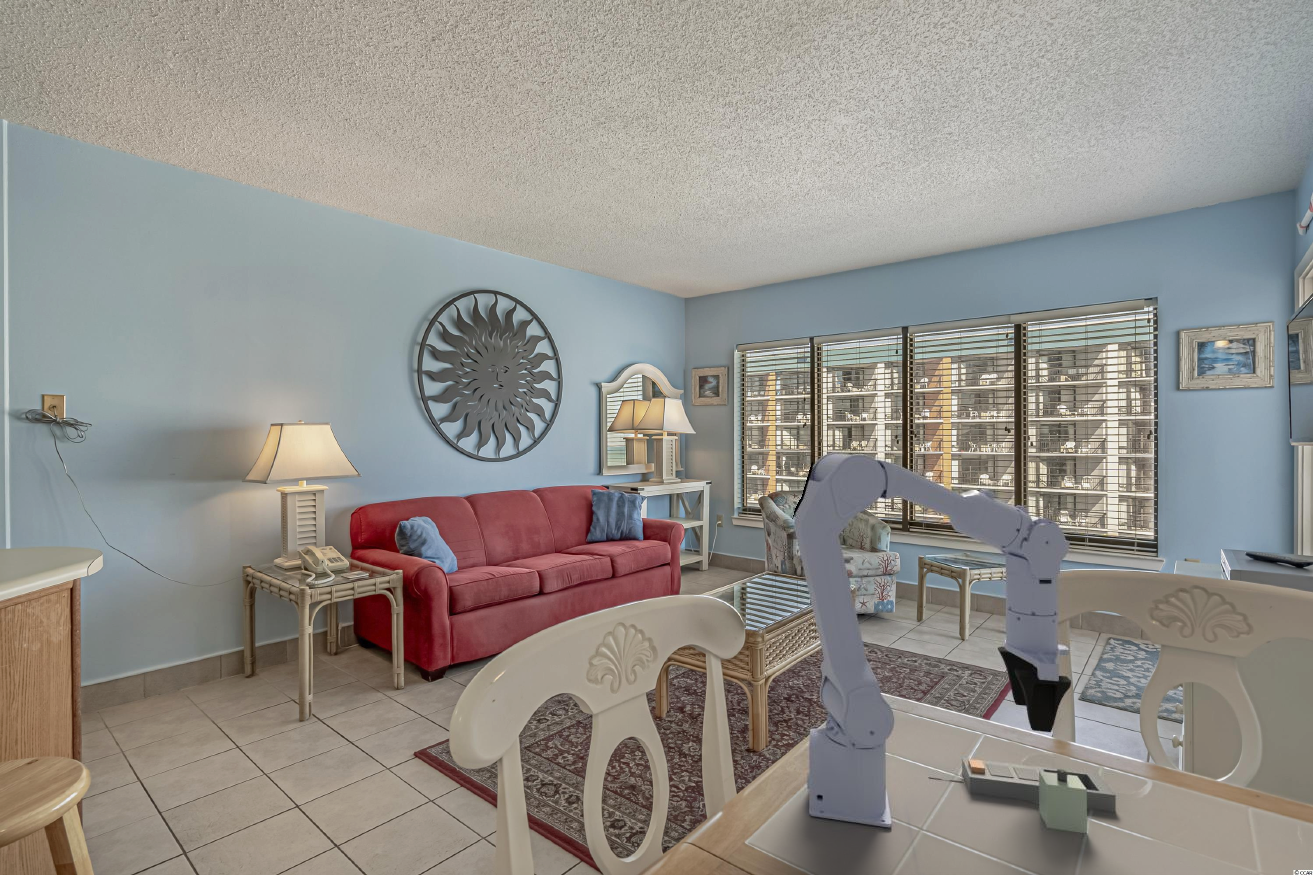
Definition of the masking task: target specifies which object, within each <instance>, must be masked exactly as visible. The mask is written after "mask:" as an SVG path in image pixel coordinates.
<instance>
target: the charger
mask: <svg viewBox="0 0 1313 875" xmlns="http://www.w3.org/2000/svg"><path fill="white" fill-rule="evenodd" d="M1057 769H1058V770H1057V773H1049V772H1041V771H1039V802H1038V803H1039V804H1038V805H1039V809H1038V810H1039V812H1038V813H1039V815H1040V817H1041V819H1042V821H1043V823H1044V824H1045V826H1046V828H1047V829H1054V830H1061V831H1067V832H1074V833H1075V832H1077V833H1082V834H1088V809H1087V789H1086V788H1085V786H1084V785H1083V784H1082V782H1081V781H1080V779H1079V778H1078V776H1073V775H1067V772H1066V771H1065V770H1066V769H1059V768H1057Z"/></svg>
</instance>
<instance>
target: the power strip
mask: <svg viewBox="0 0 1313 875" xmlns="http://www.w3.org/2000/svg"><path fill="white" fill-rule="evenodd" d="M961 767H962V769H961V773H962V776H963V777H962V778H963V779H964V781H965V784H966V786H967V790H968V791H969V792H968V793H969V794H975V795H981V796H989V797H998V798H1003V799H1004V798H1006V799H1012V800H1020V801H1026V802H1027V801H1028V802H1033V803H1034V802H1035V803H1039V771H1041V772H1049V773H1057V770H1058V769H1059V768H1051V767H1043V766H1035V765H1027V764H1026V765H1025V764H1017V763H1009V762H1002V761H1001V762H1000V761H992V760H985V759H978V758H977V759H975V758H967V757H966V758H965V757H961ZM1064 770H1065V771H1066V772H1067V775H1073V776H1078V778H1079V779H1080V781H1081V782H1082V784H1083V785H1084V786H1085V788H1086V789H1087V810H1095V811H1103V812H1112V813H1116V811H1117V809H1116V808H1117V806H1116V805H1117V803H1116V802H1117V801H1116V800H1117V799H1116V797H1117V796H1116V794H1115V793H1114V791H1113V790H1112V789H1111V787H1110V786H1109V785H1108V783H1107V782H1106V781H1105V779H1104V778H1103V777H1102V776H1101V775H1100V773H1093V772H1083V771H1075V770H1068V769H1064ZM928 779H929V780H936V781H945V782H951V783H960V784H964V782H963V781H962V780H954V779H953V780H952V779H946V778H937V777H930V776H929V777H928Z"/></svg>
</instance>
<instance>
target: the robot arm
mask: <svg viewBox="0 0 1313 875" xmlns="http://www.w3.org/2000/svg"><path fill="white" fill-rule="evenodd" d="M995 497H996V493H995V492H992V491H991V490H989V489H983V488H982V489H980V490H979V491H978V490H974V489H970V490H967V491H964V492H962V493H957V492H956V491H954V490H952V489H949V488H947V487H945V486H943V485H941V484H939V483H936V482H935V481H933V480H931V479H928V478H927V477H924V476H923V475H920V474H918V473H916V472H914V471H913V470H910V469H907V468H905V467H903V466H901V465H898V464H895V463H893V462H889V461H886V460H882V459H875V458H874V457H872V456H870V455H866V454H863V453H856V454H845V453H841V452H830V453H826V454H824V455H822V456H821V457H820V458H818V460H816V462H815V463H813V464H812V468H811V471H810V475H809V478H808V481H807V485H806V488H805V491H804V495H803V498H802V500H801V501H800V503H799V505H798V507H797V509H796V512H795V516H794V517H795V518H794V521H793V527H794V532H795V536H796V541H797V546H798V549H799V555H800V560H801V564H802V567H803V572H804V573H803V574H804V577H805V581H806V585H807V590H808V593H809V594H808V595H809V597H810V602H811V607H812V611H813V616H814V621H815V625H816V630H817V634H818V638H819V642H820V647H821V651H822V655H823V660H822V662H821V664H820V669H821V675H822V676H821V684H820V687H819V698H820V701H821V704H822V706H823V707H824V709H826V711H827V713H828V714H827V718H826V721H825V727H820V728H810V729H809V740H808V741H809V742H808V744H809V747H808V749H809V750H808V753H809V754H808V758H809V759H808V760H809V761H808V769H809V770H808V773H807V775H806V776H807V777H806V789H808V791H809V793H808V794H809V796H808V797H809V798H808V800H809V802H808V803H809V808H808V813H809V815H810V816H812V817H817V818H824V819H829V820H830V819H831V820H837V821H842V822H851V823H858V824H863V825H868V826H869V825H871V826H875V827H876V826H878V827H884V828H891V827H892V826H893V821H892V816H891V808H890V803H889V802H890V801H889V797H888V796H889V794H888V791H887V787H886V786H887V784H886V783H887V782H886V781H887V779H886V778H887V773H886V772H887V764H886V761H887V760H886V759H887V758H886V756H887V755H886V747H887V746H886V745H887V744H886V742H887V740H888V739H889V737H890V736H891V735H892V732H893V730H894V727H895V715H894V712H893V711H894V710H892V707H891V705H890V704H889V703H888V702H887V700H885V698H884V696H883V694H882V692H881V690H880V685H879V682H878V679H877V677H876V675H875V674H874V671H873V669H872V668H871V665H870V664H869V662H868V659H867V655H866V651H865V646H864V642H863V637H862V633H861V628H860V624H859V620H858V614H857V610H856V606H855V602H854V597H853V593H852V588H851V584H850V580H849V575H848V571H847V567H846V566H847V565H846V562H845V558H844V553H843V549H842V544H841V540H840V539H841V538H840V535H841V533H842V531H843V530H844V529H845V528H846V527H847V525H849V523H850V522H851V520H852V519H853V518H854V517H856V516H857V515H859V514H860V513H862V512H863V511H864V510H866V509H867V508H869V507H871V506H872V505H873V504H874V503H876V502H877V501H878V500H879V499H884V500H891V499H894V498H901V499H903V500H906V501H908V502H910V503H912V504H915V505H918V506H920V507H923V508H926V509H928V510H931V511H934V512H936V513H938V514H940V515H944V516H945V517H948V519H949V522H950V524H951V527H952V528H953V529H954V531H956V532H957V533H959V534H962V535H965V536H967V537H969V538H972V539H974V540H976V541H979V542H981V543H983V544H986V545H988V546H990V547H993V548H994V549H997V550H999V552H1001V554H1003V555H1005V639H1004V642H1003V643H1004V646H999V647H997V650H998V652H999V654H1000V656H1001V659H1002V661H1003V663H1004V666H1005V669H1006V673H1007V675H1008V679H1009V680H1008V681H1009V683H1010V684H1009V685H1010V688H1011V694H1012V698H1013V701H1014V704H1015V705H1016V706H1022V707H1023V706H1024V707H1025V708H1026V712H1027V713H1026V714H1027V720H1028V722H1029V726H1030V729H1031V730H1032V731H1034V732H1044V733H1052V731H1053V727H1054V725H1055V722H1056V721H1055V720H1056V717H1057V713H1058V711H1059V707H1060V704H1061V701H1062V700H1063V698H1064V696H1065V695H1066V694H1067V692H1068V691H1069V690H1070V688H1071V687H1072V686H1071V685H1072V680H1071V679H1070V678H1069V677H1068V676H1066V675H1060V673H1059V672H1060V671H1059V670H1060V668H1059V666H1060V665H1059V664H1058V662H1059V658H1060V656H1062V655H1063V656H1069V655H1070V648H1068V647H1067V646H1066V645H1063V644H1059V592H1058V590H1059V588H1058V586H1059V584H1058V582H1059V580H1058V579H1059V578H1058V577H1059V575H1061V564H1062V562H1063V560H1064V559H1065V558H1066V556H1067V554H1068V552H1069V549H1070V544H1071V542H1070V541H1069V540H1067V539H1066V537H1065V536H1066V535H1065V533H1064V531H1063V529H1062V528H1060V525H1059V524H1058V523H1057V522H1055V520H1051V519H1048V518H1044V517H1039V516H1033V515H1030V514H1029V513H1028V512H1029V508H1027V507H1025V506H1022V505H1016V506H1013V505H1011V504H1008V503H1006V502H1003V501H1002V500H1000V499H997V498H995Z"/></svg>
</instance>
